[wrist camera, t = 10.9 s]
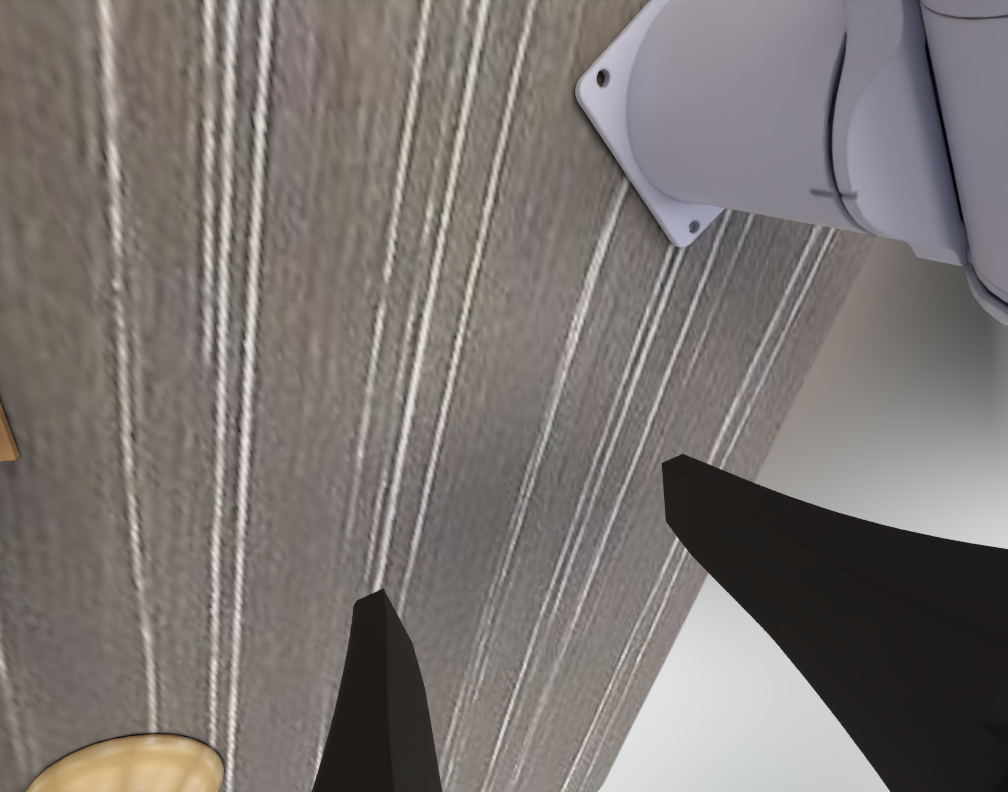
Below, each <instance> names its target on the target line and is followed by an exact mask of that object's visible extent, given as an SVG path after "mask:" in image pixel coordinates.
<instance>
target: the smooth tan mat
mask: <svg viewBox="0 0 1008 792" xmlns="http://www.w3.org/2000/svg"><path fill="white" fill-rule="evenodd" d="M18 457H19V452H18V449H17V447H16V444H15V441H14V438H13V436H12V433H11V430H10V427H9V424H8V422H7V419H6V416H5V413H4V411H3V408H2V405H1V402H0V461H11V460H16V459H17V458H18Z"/></svg>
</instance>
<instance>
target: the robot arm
mask: <svg viewBox="0 0 1008 792" xmlns="http://www.w3.org/2000/svg"><path fill="white" fill-rule="evenodd" d="M599 71H601V72H603V74H604V77H605V78H604V83H603V85H602V86H601V87H600V86H599V85H598V84H597V81H596V78H597V74H598V72H599ZM575 95H576V98H577V101H578V103H579V104H580V106H581V107H582V109H583V110H584V112H585V113H586V115H587V116H588V118H589V119H590V121H591V122H592V124H593V125H594V127H595V128H596V130H597V131H598V133H599V134H600V136H601V137H602V139H603V140H604V142H605V143H606V145H607V146H608V148H609V149H610V151H611V152H612V154H613V155H614V157H615V158H616V160H617V161H618V163H619V164H620V166H621V167H622V169H623V170H624V172H625V173H626V175H627V176H628V178H629V180H630V181H631V183H632V184H633V186H634V187H635V189H636V190H637V192H638V193H639V195H640V196H641V198H642V199H643V201H644V202H645V204H646V205H647V207H648V208H649V210H650V211H651V213H652V214H653V216H654V217H655V219H656V220H657V222H658V223H659V225H660V226H661V228H662V229H663V231H664V232H665V234H666V235H667V237H668V238H669V240H670V241H671V243H672V244H673V245H674V246H677V247H680V248H684V247H687V246H688V245H690V244H691V243H692V242H693V241H694V240H695V239H696V238H697V237H698V236H699V235H700V234H701V233H702V232H703V231H704V230H705V228H706V227H707V226H708V225H709V224H710V223H711V222H712V221H713V220H714V219H715V218H716V217H717V216H718V215H719V214H720V213H721V212H722V211H723V210H724V209H725V208H727V209H732V210H738V211H743V212H749V213H754V214H760V215H765V216H770V217H776V218H781V219H787V220H792V221H798V222H803V223H809V224H814V225H820V226H825V227H831V228H836V229H842V230H847V231H852V232H858V233H863V234H869V235H876V236H880V237H884V238H890V239H895V240H900V241H905V242H907V243H908V244H909V245H910V246H911V248H912V249H913V252H914V254H915V256H916V257H920V258H924V259H929V260H935V261H940V262H944V263H949V264H954V265H959V266H965V272H966V277H967V281H968V284H969V286H970V289H971V292H972V294H973V296H974V297H975V298H976V300H977V301H978V302H979V303H980V305H981V306H982V308H983V309H984V310H985V311H987V312H988V313H989V314H990V315H991V316H993V317H994V318H995V319H996V320H998V321H999V322H1001V323H1002V324H1004V325H1006V326H1008V0H649V1H648V2H647V4H646V5H645V6H644V7H643V8H642V9H641V10H640V11H639V12H638V14H637V15H636V16H635V17H634V18H633V19H632V20H631V21H630V22H629V24H628V25H627V26H626V27H625V28H624V29H623V30H622V31H621V33H620V34H619V35H618V36H617V37H616V38H615V39H614V40H613V41H612V43H611V44H610V45H609V46H608V47H607V48H606V49H605V50H604V51H603V53H602V54H601V55H600V56H599V57H598V58H597V59H596V60H595V62H594V63H593V64H592V65H591V66H590V67H589V68H588V69H587V70H586V72H585V73H584V74H583V75H582V76H581V77H580V78H579V80H578V82H577V84H576V88H575ZM691 222H693V223H694V225H693V228H692V229H691V230H690V231H689V225H690V224H691ZM662 473H663V487H664V501H665V514H666V522H667V524H668V525H669V526H670V528H671V529H672V530H673V532H674V533H675V534H676V536H677V537H678V538H679V540H680V541H681V542H682V544H683V545H684V546H685V547H686V549H687V550H688V551H689V552H690V554H691V555H692V556H693V557H694V558H695V559H696V560H697V561H698V562H699V563H700V564H701V565H702V567H703V568H704V569H705V570H706V571H707V572H708V573H709V574H710V575H711V576H712V577H713V578H714V579H715V580H716V581H717V582H718V583H719V584H720V585H721V586H722V587H723V588H724V589H725V590H726V591H727V592H728V593H729V594H730V595H731V596H732V597H733V598H734V599H735V600H736V601H737V602H738V603H739V604H740V605H741V606H742V607H743V608H744V609H745V610H746V611H747V612H748V613H749V614H750V615H751V616H752V617H753V618H754V620H756V622H757V623H758V624H759V625H760V626H761V627H763V629H764V630H765V631H766V632H767V633H768V634H769V635H770V636H771V638H772V639H773V640H774V641H775V642H776V643H777V644H778V646H779V647H780V648H781V649H782V650H783V652H784V653H785V654H786V655H787V657H788V658H789V659H790V660H791V662H792V663H793V664H794V665H795V666H796V668H797V669H798V670H799V671H800V672H801V674H802V675H803V676H804V677H805V679H806V680H807V681H808V682H809V684H810V685H811V686H812V687H813V689H814V690H815V691H816V693H817V694H818V695H819V696H820V698H821V699H822V700H823V701H824V703H825V704H826V705H827V707H828V708H829V709H830V710H831V711H832V713H833V714H834V715H835V717H836V718H837V719H838V721H839V722H840V723H841V725H842V726H843V727H844V729H845V730H846V731H847V733H848V734H849V735H850V737H851V738H852V739H853V741H854V742H855V744H856V745H857V746H858V747H859V749H860V750H861V752H863V754H864V756H865V757H866V758H867V760H868V761H869V762H870V764H871V765H872V766H873V768H874V769H875V771H876V772H877V773H878V775H879V776H880V778H881V779H882V780H883V782H884V783H885V785H886V786H887V788H888V789H889V790H890V792H1008V549H1003V548H997V547H991V546H984V545H978V544H972V543H966V542H961V541H955V540H950V539H944V538H939V537H935V536H930V535H925V534H920V533H916V532H911V531H906V530H902V529H898V528H894V527H890V526H885V525H881V524H878V523H874V522H870V521H866V520H863V519H859V518H856V517H852V516H848V515H845V514H841V513H838V512H835V511H831V510H828V509H825V508H822V507H819V506H816V505H813V504H810V503H807V502H804V501H801V500H798V499H795V498H792V497H790V496H787V495H784V494H782V493H778V492H776V491H773V490H771V489H768V488H766V487H763V486H760V485H758V484H755V483H753V482H750V481H748V480H745V479H743V478H740V477H738V476H735V475H733V474H731V473H728V472H726V471H723V470H721V469H718V468H716V467H714V466H711V465H709V464H706V463H704V462H702V461H699V460H697V459H694V458H692V457H689V456H687V455H684V454H681V455H679V456H677V457H675V458H672V459H670V460H668V461H666V462H664V463H662ZM312 792H442V788H441V782H440V776H439V770H438V764H437V757H436V751H435V745H434V739H433V733H432V727H431V721H430V715H429V710H428V704H427V698H426V692H425V687H424V683H423V680H422V676H421V672H420V668H419V665H418V661H417V658H416V654H415V651H414V647H413V644H412V641H411V640H410V638H409V636H408V634H407V632H406V630H405V628H404V626H403V625H402V623H401V621H400V619H399V617H398V615H397V613H396V611H395V610H394V608H393V606H392V604H391V602H390V600H389V598H388V596H387V595H386V593H385V591H384V589H381V590H379V591H377V592H375V593H373V594H370V595H368V596H366V597H364V598H361V599H359V600H357V601H356V603H355V604H354V606H353V616H352V624H351V631H350V638H349V644H348V650H347V655H346V661H345V666H344V671H343V675H342V680H341V685H340V689H339V694H338V699H337V703H336V707H335V711H334V715H333V719H332V723H331V727H330V730H329V734H328V738H327V742H326V745H325V749H324V753H323V757H322V760H321V763H320V767H319V770H318V773H317V777H316V780H315V783H314V786H313V789H312Z"/></svg>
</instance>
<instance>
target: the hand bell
mask: <svg viewBox="0 0 1008 792" xmlns="http://www.w3.org/2000/svg"><path fill="white" fill-rule="evenodd" d="M223 775H224V767H223V764H222V761H221V758H220V757H219V755H218V754H217V753H216V752H215V751H214V750H213V749H211V748H210V747H209V746H207V745H205V744H202V743H200V742H199V741H196V740H193V739H190V738H186V737H182V736H177V735H170V734H164V735H163V734H148V735H136V736H128V737H123V738H116V739H112V740H108V741H104V742H101V743H97V744H94V745H91V746H89V747H86V748H83V749H81V750H79V751H76V752H74V753H72V754H70V755H68V756H66V757H64V758H63V759H61V760H59V761H57V762H56V763H54V764H53V765H51V766H50V767H49V768H47V769H46V770H45V771H43V772H42V773H41V774H40V775H39V776H38V777H37V778H36V779H35V780H34V781H33V782H32V783H31V785H30V786H29V788H28V789H27V791H26V792H218V790H219V788H220V786H221V784H222V780H223Z"/></svg>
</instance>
